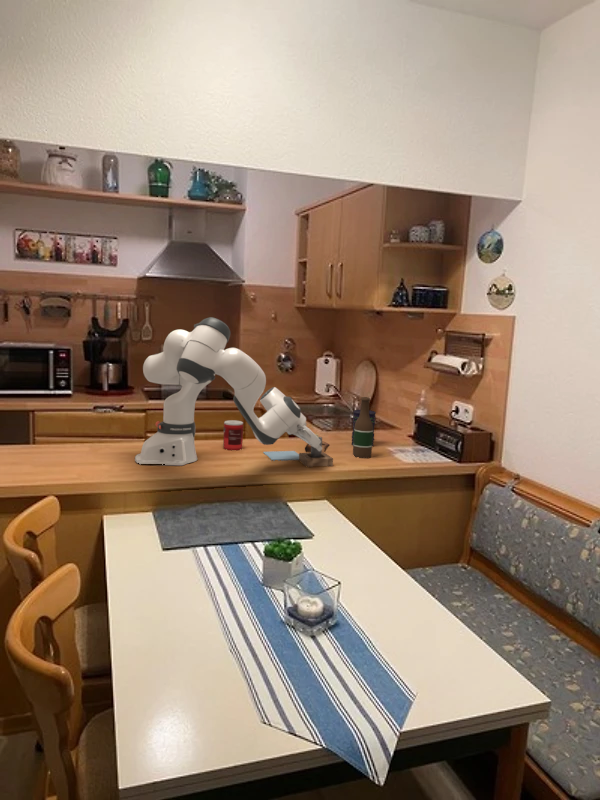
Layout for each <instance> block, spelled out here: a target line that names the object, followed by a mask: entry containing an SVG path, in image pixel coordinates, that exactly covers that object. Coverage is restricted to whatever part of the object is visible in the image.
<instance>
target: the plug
mask: <svg viewBox="0 0 600 800" xmlns="http://www.w3.org/2000/svg"><path fill="white" fill-rule="evenodd" d="M315 435H316V436H317V437H318V438H319V439H320V440H321V443H320V444H319V445H320V446H321V447H322V441H323V437H322V436H319V434H317V433H315ZM321 452H322V450H321V451H318V450H317V449H316V448H314V447H312V446H311V452H310V453H311V458H321Z"/></svg>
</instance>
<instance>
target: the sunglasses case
mask: <svg viewBox="0 0 600 800" xmlns="http://www.w3.org/2000/svg"><path fill="white" fill-rule="evenodd" d="M329 446H330V444H329V443H328V442H326V441H323V440H322V452H325V453H326V449H327V448H328V447H329ZM304 451H305V453H311V445H309V444H308V443H306V445H305V447H304Z"/></svg>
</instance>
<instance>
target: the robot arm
mask: <svg viewBox="0 0 600 800" xmlns="http://www.w3.org/2000/svg"><path fill="white" fill-rule="evenodd" d="M230 337H231V330H230V328H229V326H228V325H227V323H225V322H224V321H222V320H221V319H218V318H215V317H213V316H212V317H211V316H210V317H207V318H204V319H202V320H201V321H200V322H198V323H196V324H195V323H194V325H193V330H192V331H187V330H185V329H175V330H172V331H171V332H170V333H168V335H167V336H166V338H165V340H164V343H163V348H162V352H159V353H155V354H152V355H149V356H148V357H147V358H146V359H145V360H144V363H143V365H142V371H143V376H144V378H145V379H146V380H147V381H148V382H150V383H153V384H159V385H173V386H174V385H175V386H177V385H180V386H181V388H180V390H179V391H178V392H175V393H173V394H171V395H169V396H167V397H166V398H165V400H164V402H163V414H162V415H163V417H162V419H163V420H162V421H159V420H158V421H156V422H155V426H156V428H157V432H156V433H154V434H153V435H151V436H149V438H147V439H146V440H145V441H144V442H143V444H142V446H141V449H140V453H138V454H136V455H135V457H134V462H135V463H137V464H138V463H139V465H141V464H162V465H161V466H184V465H186V464H189V463H194V462H196V461H197V460H198V456H197V452H196V444H195V437H196V436H195V435H196V423H195V408H196V407H195V406H196V402H197V399H198V396H199V394H200V393H201V391H202V390H203V389H204V388H205V387H206V386H207V385H209V384H210V383H211V382H212V381H214V380H215V379H216V375H217V376H220V377H221V378H223V379H224V380H225V381H226V382H227V383H228V385H230V386H231V388H232V389H233V391H234V395H233V403H234V404H235V406H236V408H237V409H238V411H239V413H240V414H241V416H242V417H243V419H244V420H245V422H246V423H247V424H248V426H250V428H251V431H252V433H253V435H254V437H255V439H256V440H257V442H259V443H261V444H262V445H264V446H268V445H269V446H272V445H274V444H275V443H276V442H277V441H278V440H279V439H280V437H282V436H283V435H284V434H285V433H287V434H288V435H293V436H296V437H297V438H300V440H302V441H303V442H305V443H306V444H309V445H311V446H312V447H314V448H316V449H317V450H318V451H321V450H322V447H321V446H320V445H319V444H320V443H321V440H320V439H319V438H318V437H317V436H316V433H314V432H313V431H312V430H311V428H309V427H308V426H307V417H306V416H305V415H304V414H303V413H302V412H301V411H302V410H301V407H300V405H299V404H297V403H296V401H294V399H293V398H292V397H291V396H286V395H285V394H284V393H283V392H282V391H281V390H280V389H279V388H277V387H275V386H274V387H271V388H269V389H268V390H266V392H265V388H266V384H267V378H266V377H267V376H266V374H265V372H264V370H263V369H262V367H261V366H260V365H259V364H258V363H257V362H256V361H255V360H254V359H253V358H252V357H251V356H250V355H248V354H246V352H244V351H243V350H242V349H239V348H236V347H229V348H226V346H227V343H229V340H230ZM225 348H226V349H225ZM259 398H260V399H259ZM258 400H259V402H260V403H261V405H262V407H264V409H265V410H266V412H265V413H264V414H263V415H261V416H260V417H258V416H257V414H256V413H255V411H254V408H255V406H256V404H257V402H258ZM163 464H165V465H163Z"/></svg>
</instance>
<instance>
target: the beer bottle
mask: <svg viewBox="0 0 600 800" xmlns="http://www.w3.org/2000/svg"><path fill="white" fill-rule="evenodd" d="M360 400H361V403H360V409H359V410H360V415H359V418H358V419H357V420H356V423H355V426H354V440H353V445H352V455H354V456H355V457H354V456H353V457H354V458H357V457H359V458H358V459H369V458H368V457H370V458H372V453H373V447H372V439H373V424H372V421H371V420H370V416H369V410H370V401H371V398H370V397H369V396H363V397H361V398H360Z"/></svg>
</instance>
